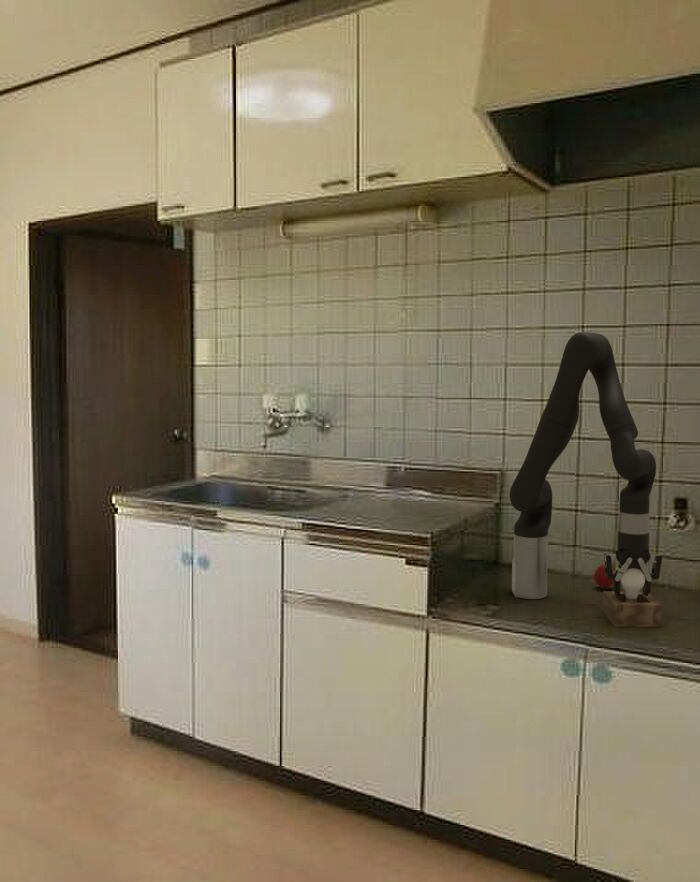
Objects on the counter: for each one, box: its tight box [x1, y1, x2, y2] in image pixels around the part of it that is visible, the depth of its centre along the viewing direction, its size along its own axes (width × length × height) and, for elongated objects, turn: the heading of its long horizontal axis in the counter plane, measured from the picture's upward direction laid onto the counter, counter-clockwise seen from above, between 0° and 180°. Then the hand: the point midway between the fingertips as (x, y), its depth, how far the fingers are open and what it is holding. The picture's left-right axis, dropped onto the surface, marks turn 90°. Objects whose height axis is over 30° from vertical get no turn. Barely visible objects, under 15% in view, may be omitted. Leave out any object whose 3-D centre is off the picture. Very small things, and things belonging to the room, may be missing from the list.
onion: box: [593, 562, 615, 590], centre depth 224 cm, size 6×6×8 cm
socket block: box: [602, 590, 663, 628], centre depth 198 cm, size 11×11×6 cm
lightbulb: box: [619, 568, 645, 602], centre depth 198 cm, size 6×6×11 cm
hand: (631, 594), depth 198 cm, fingers closed on lightbulb, 6 cm apart
